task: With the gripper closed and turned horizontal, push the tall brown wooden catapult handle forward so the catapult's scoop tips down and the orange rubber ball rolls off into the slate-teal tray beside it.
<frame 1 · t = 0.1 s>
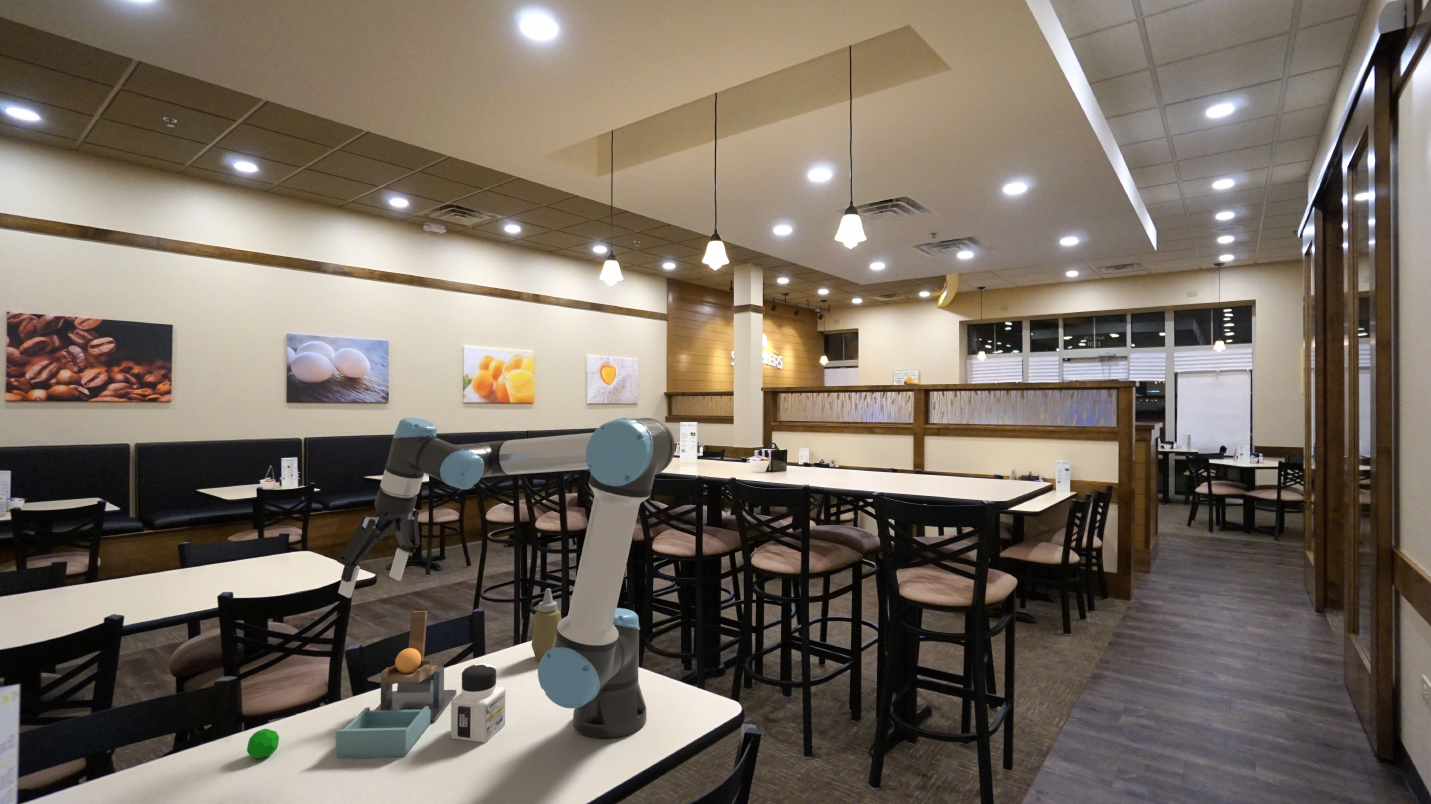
hand: (370, 586, 138), 28 cm above the table, tool tilted 20°, fingers open, 13 cm apart
squeeze bottle: (547, 659, 171), on the table
brown wooden catapult: (413, 653, 143), point 12 cm above the table, hinge at -10.0°, touching ball
polyhedron: (262, 757, 123), on the table
ball: (408, 660, 140), point 11 cm above the table, tilted 8°, touching brown wooden catapult
container: (478, 732, 133), on the table
stand: (412, 708, 142), on the table
tray: (385, 740, 129), on the table
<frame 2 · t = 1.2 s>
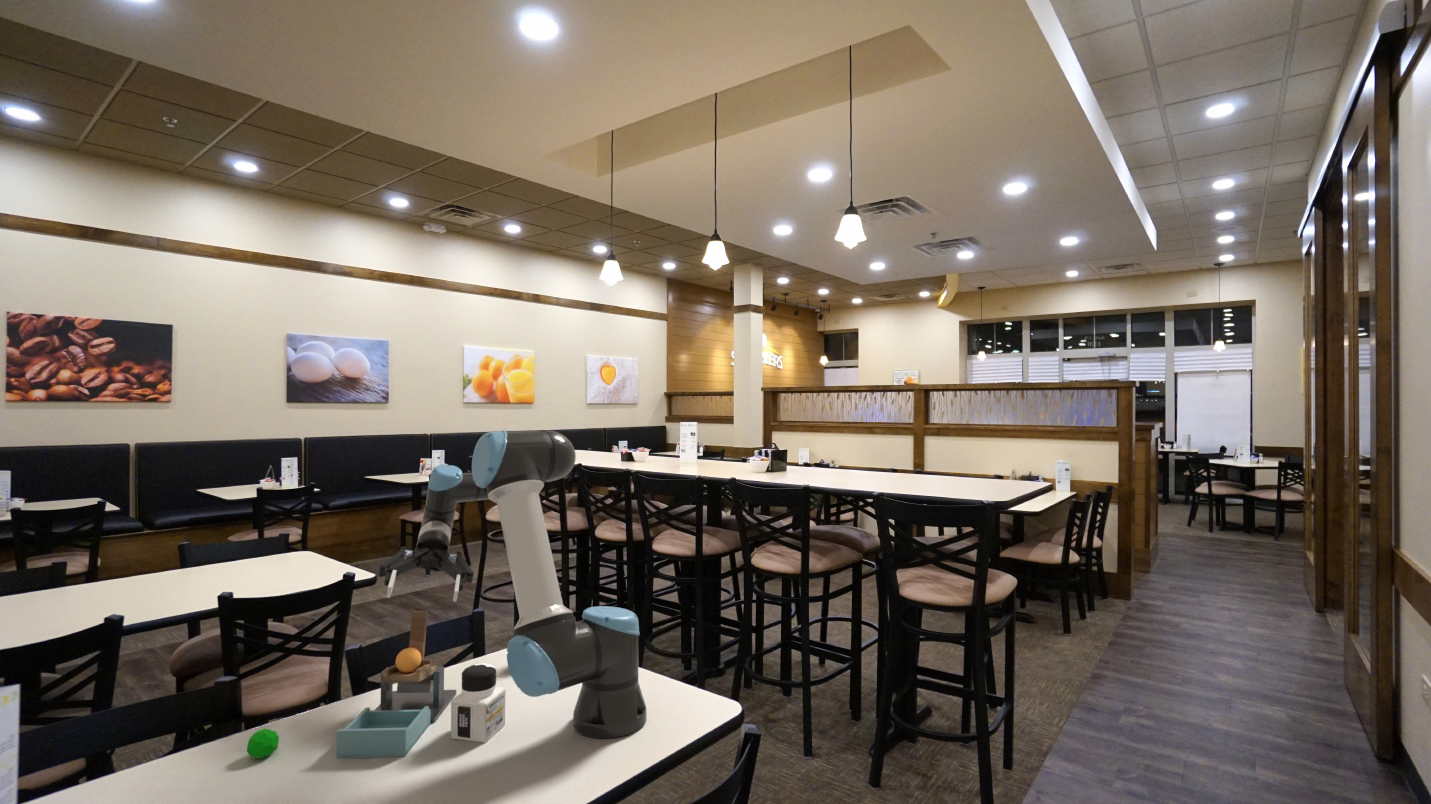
hand: (422, 594, 145), 24 cm above the table, tool tilted 70°, fingers open, 13 cm apart
brown wooden catapult: (413, 653, 143), point 12 cm above the table, hinge at -11.3°, touching ball
everything else where it was.
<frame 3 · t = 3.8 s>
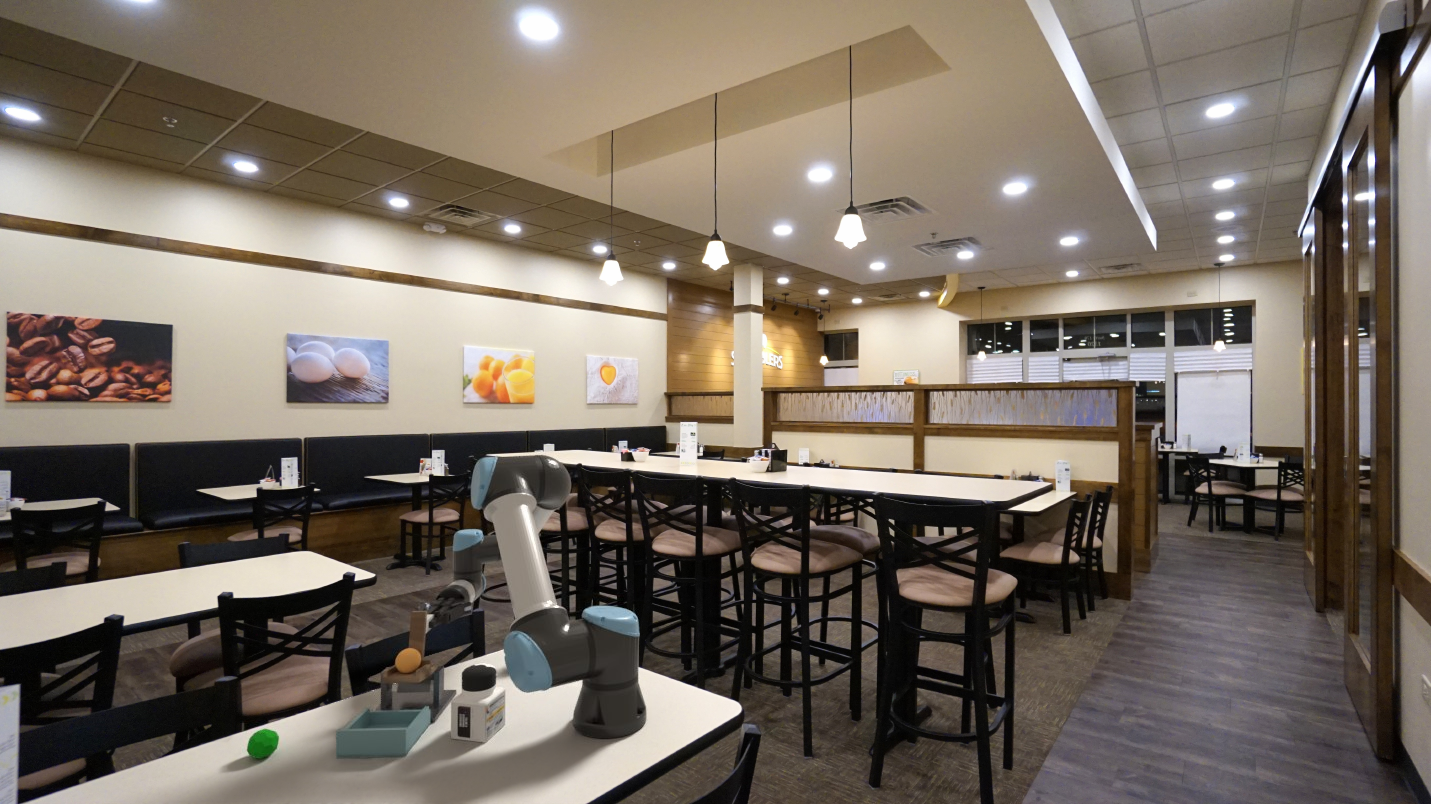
hand: (419, 629, 146), 16 cm above the table, tool horizontal, fingers closed
brown wooden catapult: (413, 653, 143), point 12 cm above the table, hinge at -9.8°, touching ball, gripper
everything else where it was.
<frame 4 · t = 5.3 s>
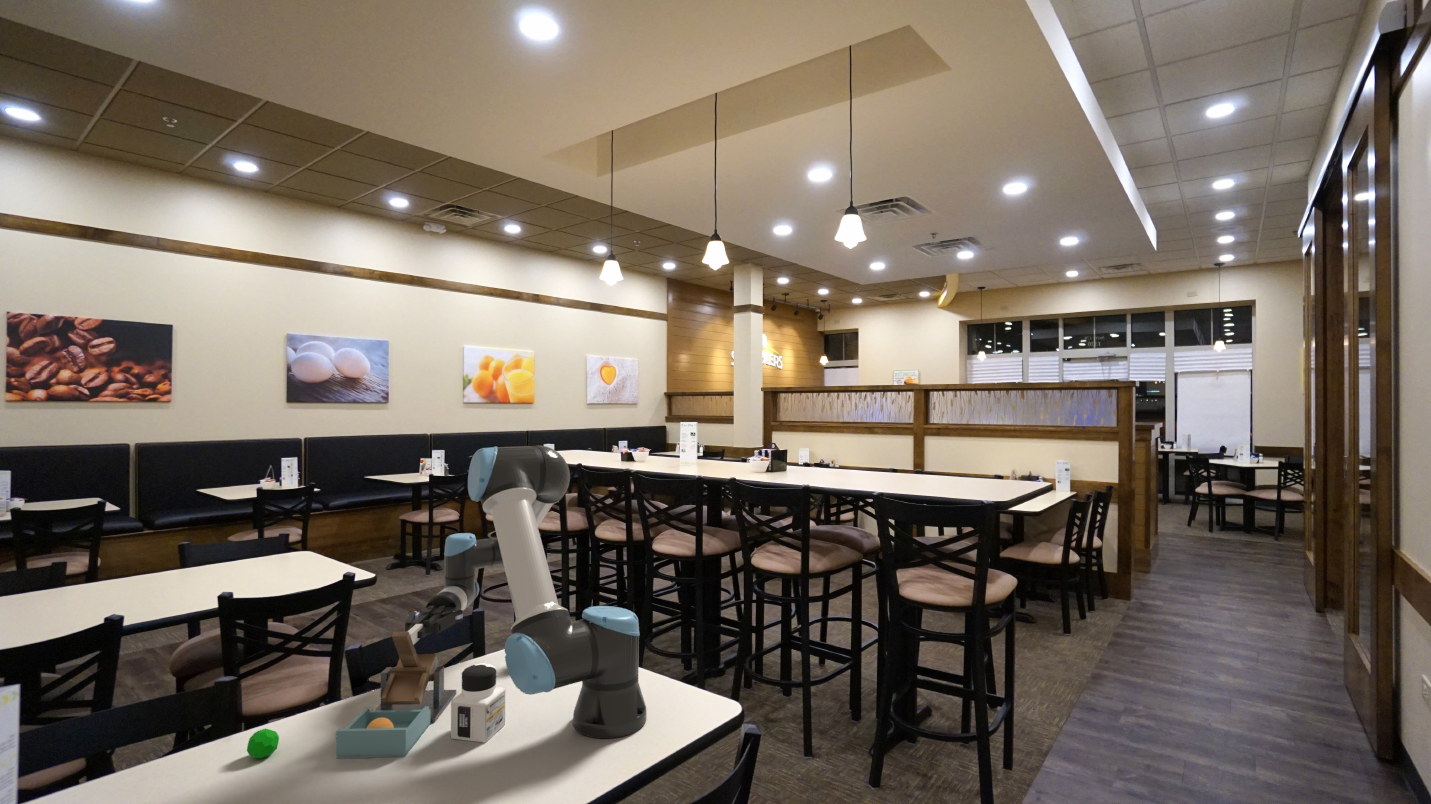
hand: (407, 640, 140), 16 cm above the table, tool horizontal, fingers closed
brown wooden catapult: (406, 666, 139), point 11 cm above the table, hinge at 35.1°, touching gripper
ball: (379, 731, 126), point 3 cm above the table, tilted 45°, touching tray
everything else where it was.
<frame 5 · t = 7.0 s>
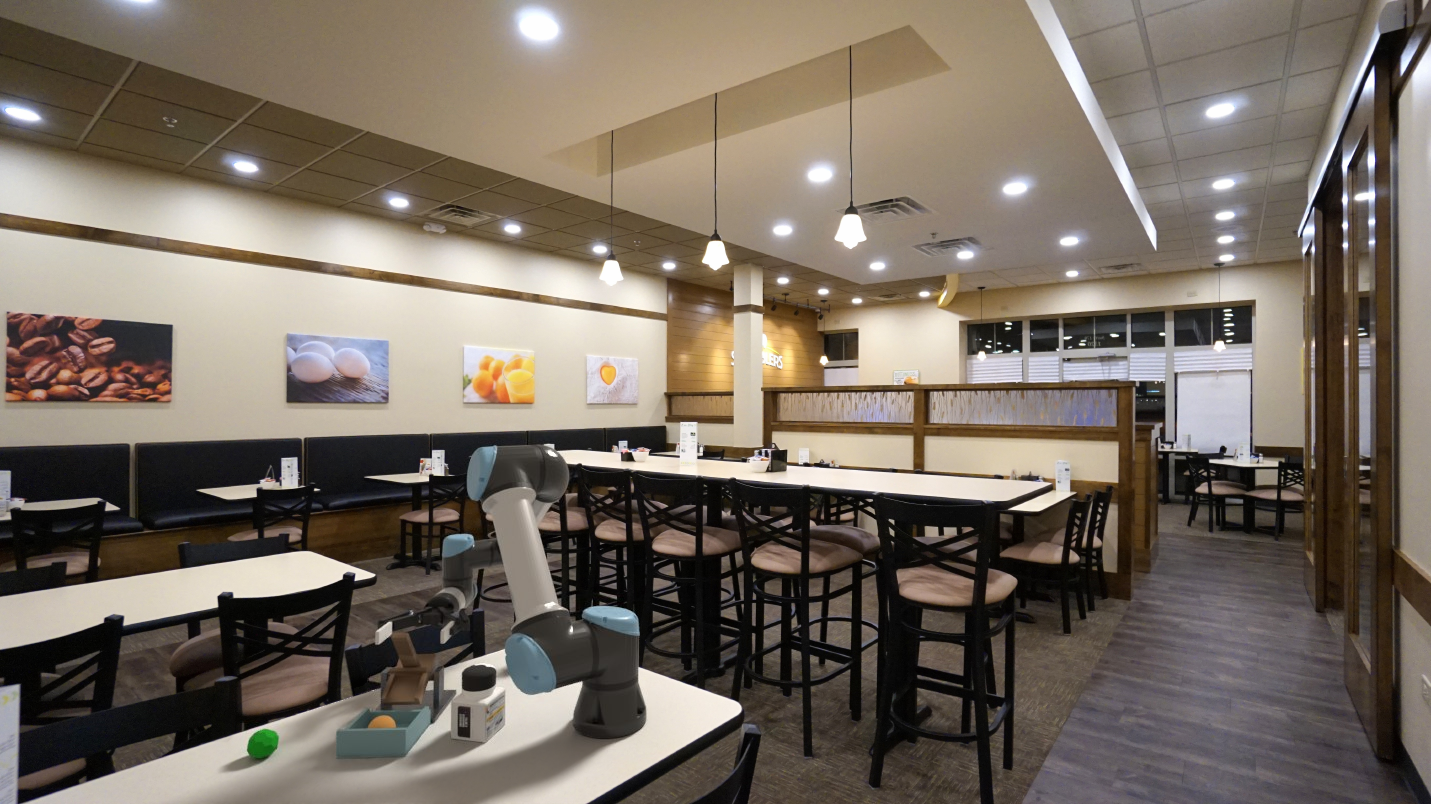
hand: (409, 637, 141), 16 cm above the table, tool horizontal, fingers open, 13 cm apart
brown wooden catapult: (406, 666, 139), point 11 cm above the table, hinge at 36.3°
ball: (381, 729, 127), point 3 cm above the table, tilted 65°, touching tray
everything else where it was.
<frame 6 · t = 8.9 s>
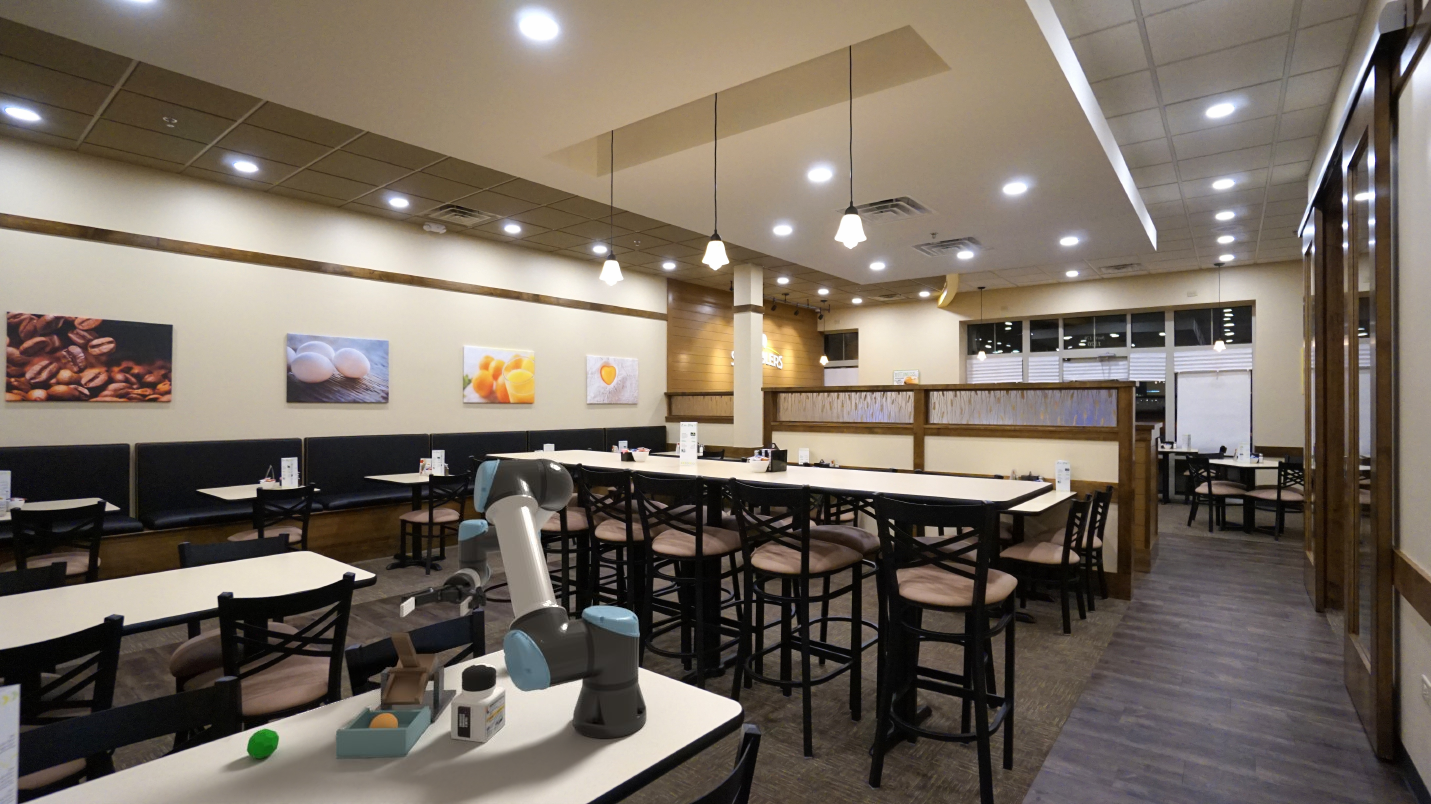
hand: (431, 610, 153), 18 cm above the table, tool horizontal, fingers open, 13 cm apart
ball: (383, 727, 128), point 3 cm above the table, tilted 88°, touching tray
everything else where it was.
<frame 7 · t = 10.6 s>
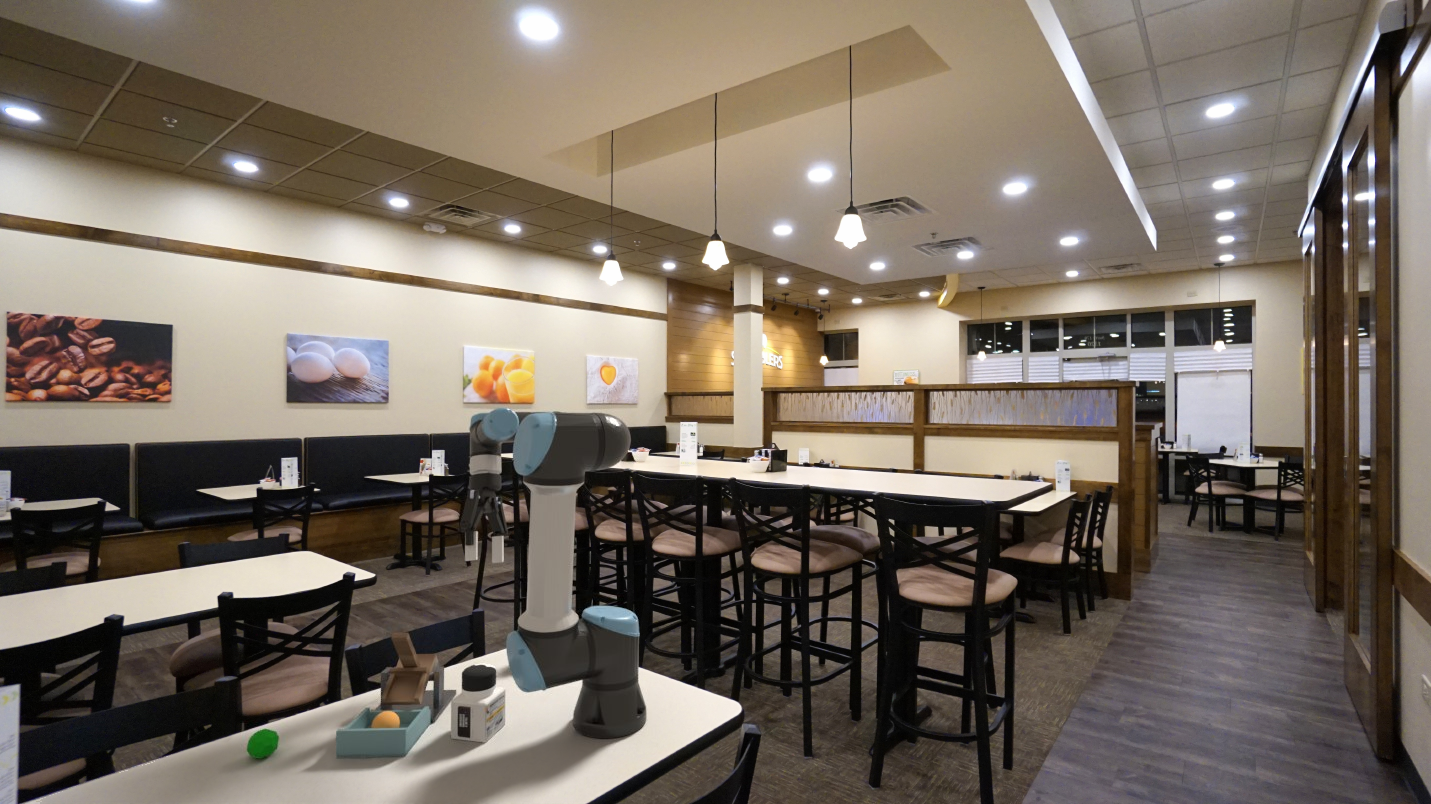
hand: (485, 561, 159), 28 cm above the table, tool tilted 15°, fingers open, 13 cm apart
ball: (385, 725, 129), point 3 cm above the table, tilted 108°, touching tray
everything else where it was.
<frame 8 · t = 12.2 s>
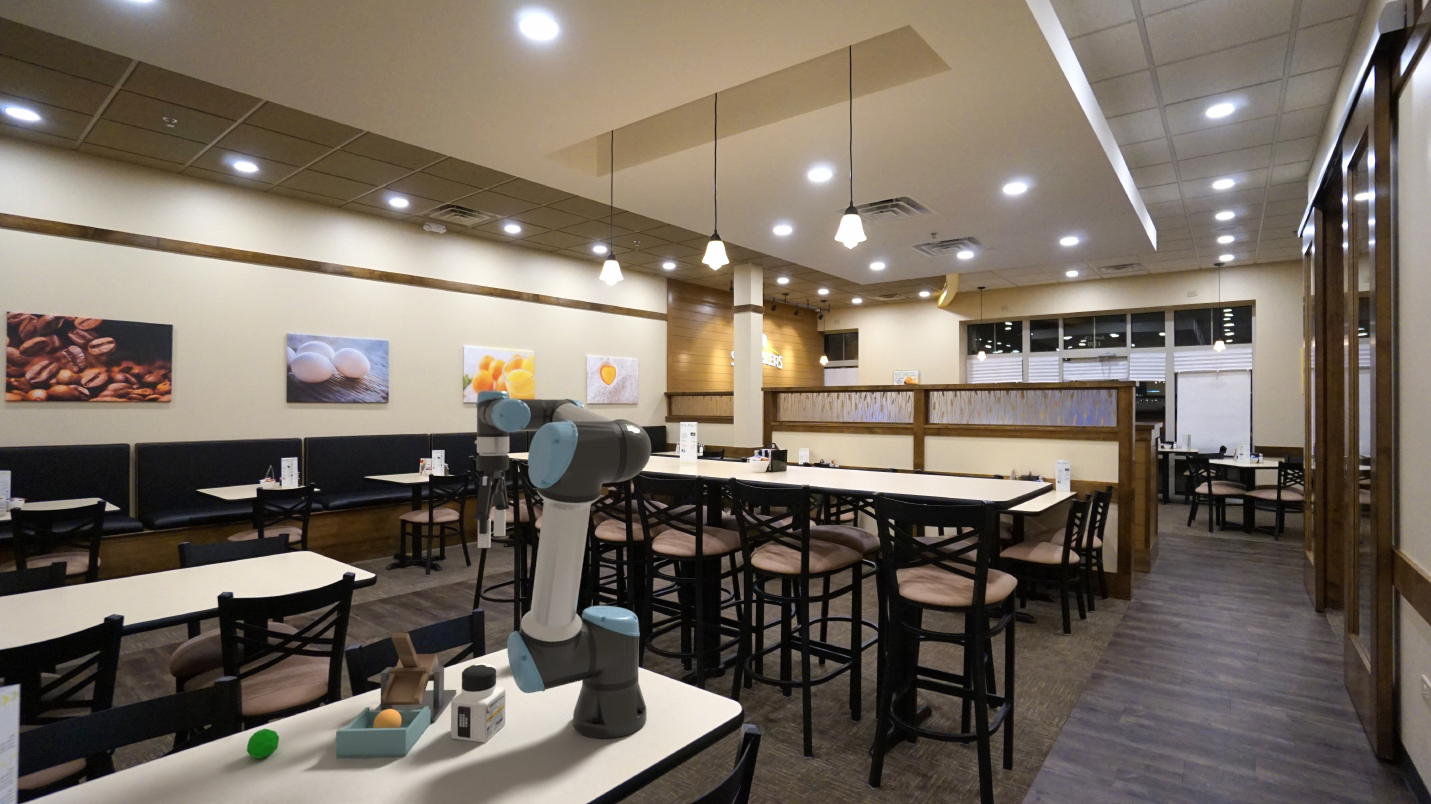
hand: (492, 541, 160), 33 cm above the table, tool pointing down, fingers open, 13 cm apart
ball: (387, 723, 130), point 3 cm above the table, tilted 127°, touching tray
everything else where it was.
at the end: ball 0.8 cm from the tray (horizontally); ball point 3.0 cm above the table; ball touching tray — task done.
